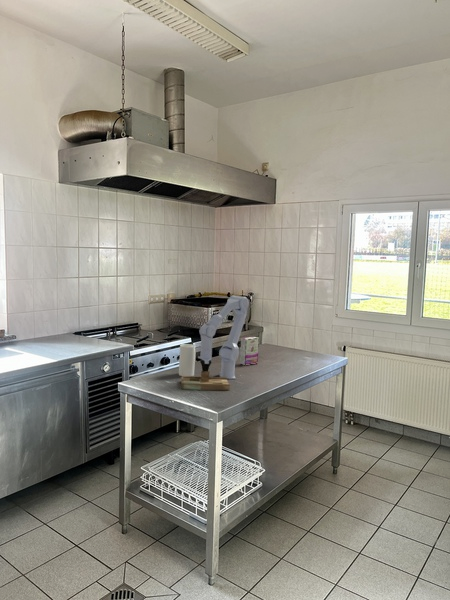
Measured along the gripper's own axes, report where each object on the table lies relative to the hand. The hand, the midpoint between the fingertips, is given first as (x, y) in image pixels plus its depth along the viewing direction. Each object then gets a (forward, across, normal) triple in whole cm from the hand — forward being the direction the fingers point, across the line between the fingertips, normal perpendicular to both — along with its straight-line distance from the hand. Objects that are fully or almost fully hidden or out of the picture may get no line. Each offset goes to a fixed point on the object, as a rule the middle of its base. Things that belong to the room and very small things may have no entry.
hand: (204, 374), depth 227 cm
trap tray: (+3, +8, 0) cm, 9 cm away
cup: (+4, -12, -9) cm, 16 cm away
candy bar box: (+4, -40, +30) cm, 50 cm away
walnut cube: (+2, +5, 0) cm, 6 cm away
